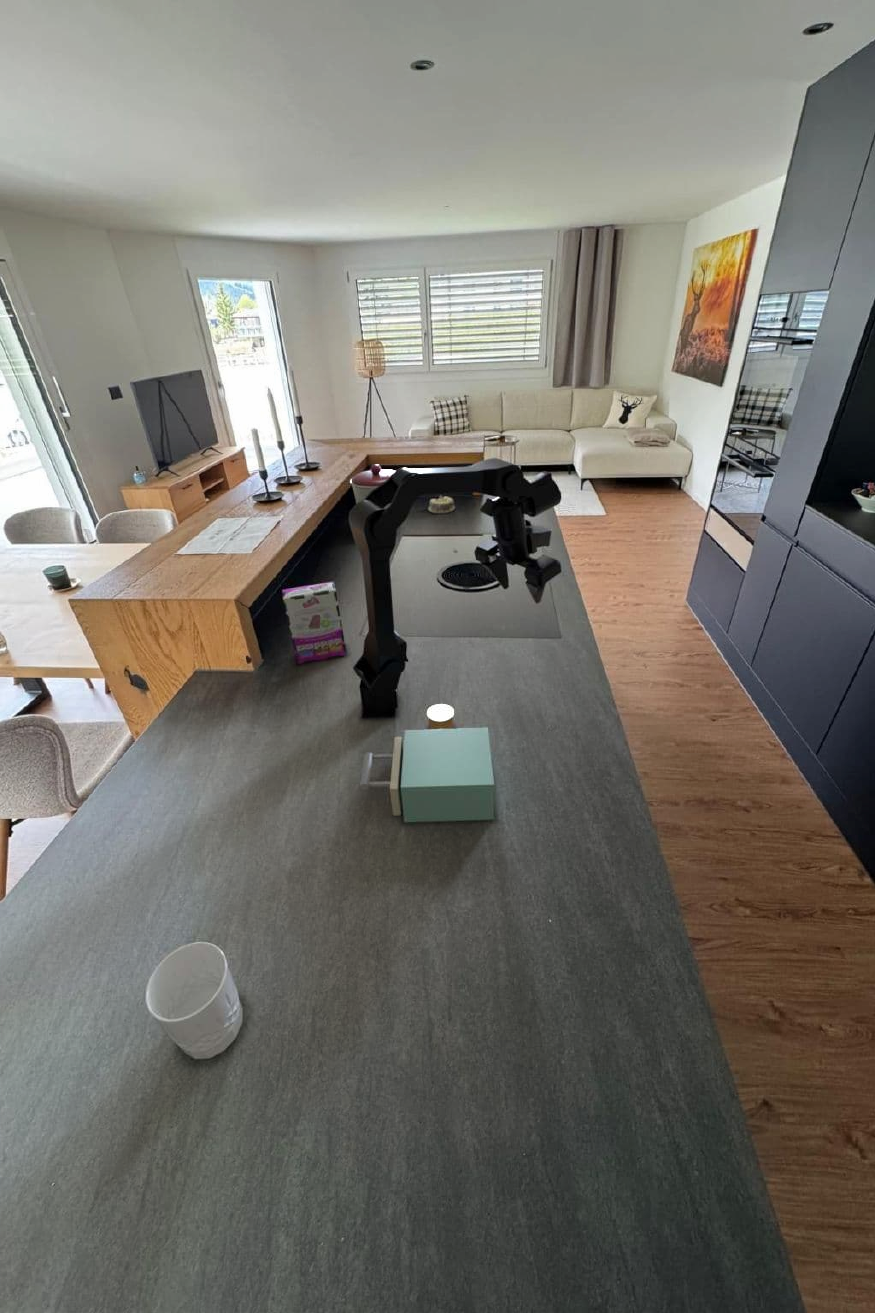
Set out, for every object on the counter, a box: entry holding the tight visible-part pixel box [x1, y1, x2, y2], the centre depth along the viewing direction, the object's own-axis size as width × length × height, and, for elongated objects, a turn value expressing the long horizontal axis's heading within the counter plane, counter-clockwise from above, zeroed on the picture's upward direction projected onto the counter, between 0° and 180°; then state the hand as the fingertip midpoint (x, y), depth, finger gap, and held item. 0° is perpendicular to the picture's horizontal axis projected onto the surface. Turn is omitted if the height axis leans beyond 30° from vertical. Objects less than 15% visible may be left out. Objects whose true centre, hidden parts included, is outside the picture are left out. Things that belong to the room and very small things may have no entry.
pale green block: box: [401, 727, 495, 823], centre depth 88 cm, size 14×13×8 cm
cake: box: [427, 495, 456, 514], centre depth 204 cm, size 10×10×5 cm
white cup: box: [144, 941, 244, 1060], centre depth 59 cm, size 8×8×10 cm
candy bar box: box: [282, 581, 348, 665], centre depth 121 cm, size 11×5×16 cm, turn 105°
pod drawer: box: [359, 736, 404, 816], centre depth 88 cm, size 17×11×6 cm, turn 90°
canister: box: [349, 463, 396, 509], centre depth 187 cm, size 18×18×21 cm
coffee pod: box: [426, 703, 455, 730], centre depth 101 cm, size 5×5×4 cm
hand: (521, 595), depth 113 cm, fingers open, 9 cm apart
